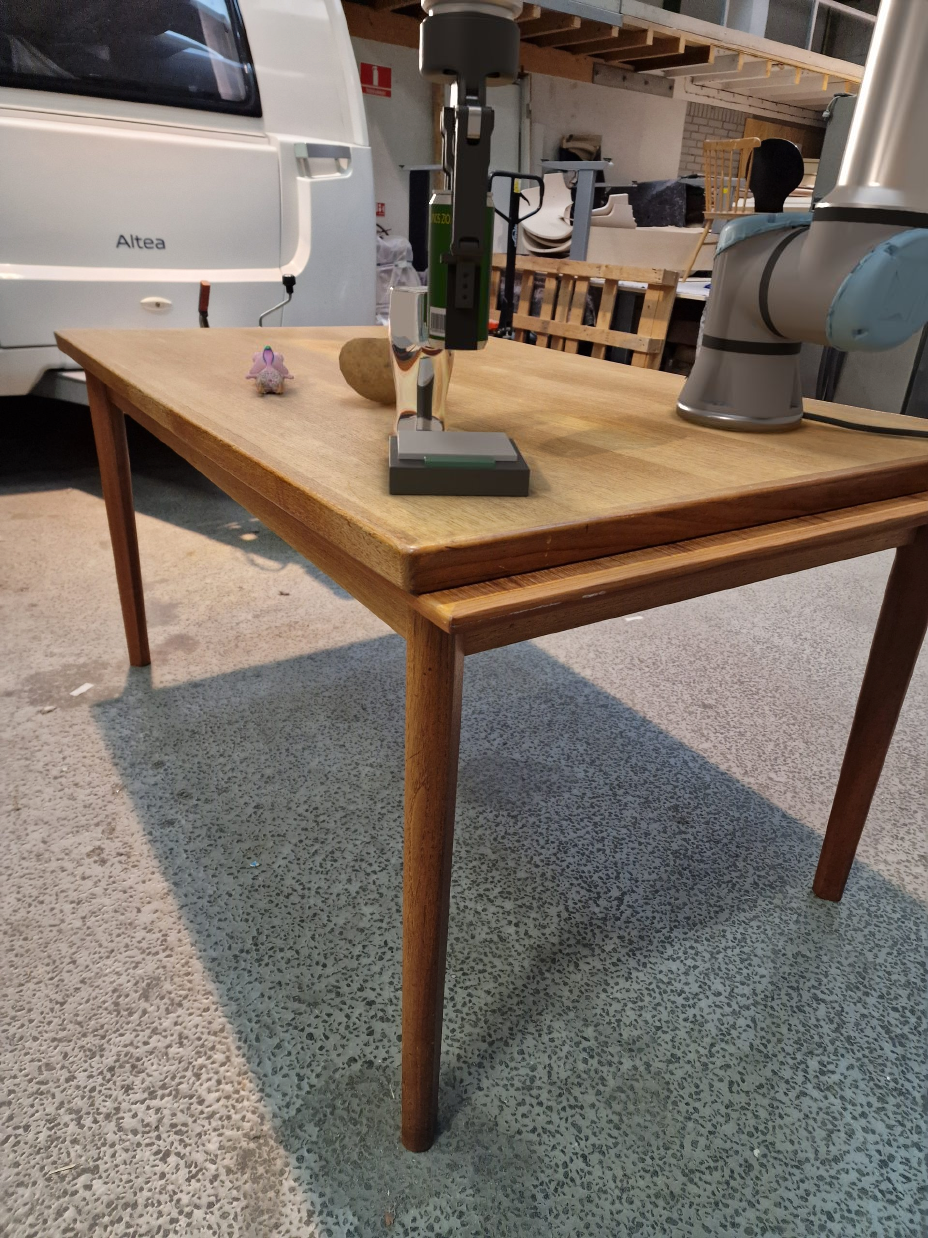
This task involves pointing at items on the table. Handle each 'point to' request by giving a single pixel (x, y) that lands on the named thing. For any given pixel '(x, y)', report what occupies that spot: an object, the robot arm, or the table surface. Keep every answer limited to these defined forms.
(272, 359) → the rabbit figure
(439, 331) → the beer can
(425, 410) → the beer glass
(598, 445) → the table surface
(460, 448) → the scale
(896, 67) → the robot arm
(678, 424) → the table surface
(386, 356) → the potato
